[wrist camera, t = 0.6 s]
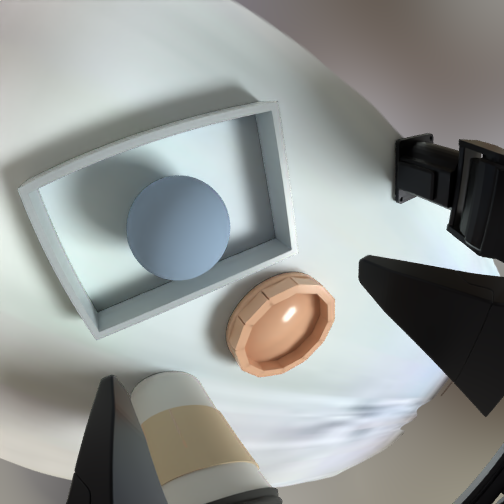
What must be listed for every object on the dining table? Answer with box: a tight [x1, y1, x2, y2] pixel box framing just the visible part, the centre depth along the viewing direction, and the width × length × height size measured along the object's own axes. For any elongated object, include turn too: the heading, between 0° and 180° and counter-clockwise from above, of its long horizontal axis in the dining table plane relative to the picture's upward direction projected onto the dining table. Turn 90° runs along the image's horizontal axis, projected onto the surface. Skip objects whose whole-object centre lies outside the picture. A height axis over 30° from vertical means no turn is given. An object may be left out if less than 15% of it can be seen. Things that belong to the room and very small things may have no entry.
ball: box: [127, 176, 230, 281], centre depth 16 cm, size 6×6×6 cm
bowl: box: [226, 272, 335, 377], centre depth 26 cm, size 10×10×2 cm
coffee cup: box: [131, 371, 282, 504], centre depth 19 cm, size 9×9×15 cm
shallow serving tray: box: [18, 101, 298, 340], centre depth 17 cm, size 15×10×2 cm
